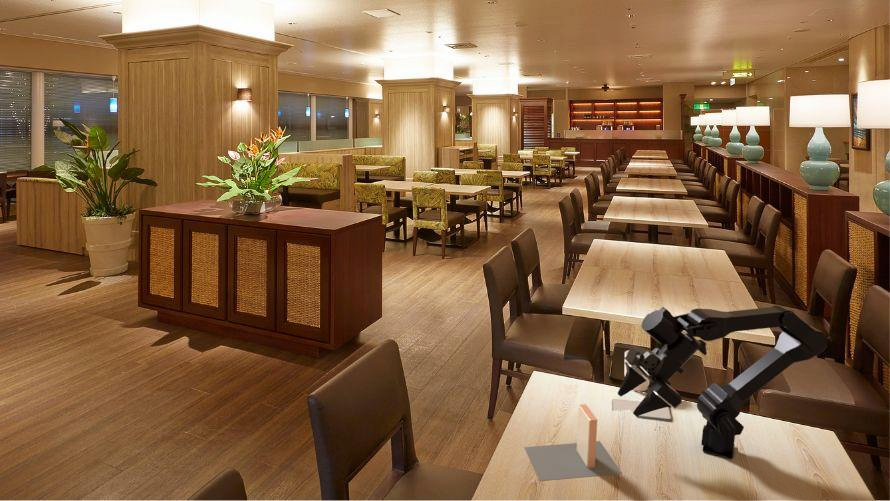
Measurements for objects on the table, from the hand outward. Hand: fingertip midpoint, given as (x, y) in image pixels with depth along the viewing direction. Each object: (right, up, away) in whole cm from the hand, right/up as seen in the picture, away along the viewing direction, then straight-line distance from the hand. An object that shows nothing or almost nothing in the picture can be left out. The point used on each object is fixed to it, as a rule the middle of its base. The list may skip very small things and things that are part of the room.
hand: (626, 404), depth 130 cm
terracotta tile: (-9, -13, +1) cm, 16 cm away
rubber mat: (-13, -13, 0) cm, 18 cm away
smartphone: (+11, -8, +23) cm, 27 cm away
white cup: (+15, -5, +37) cm, 40 cm away
